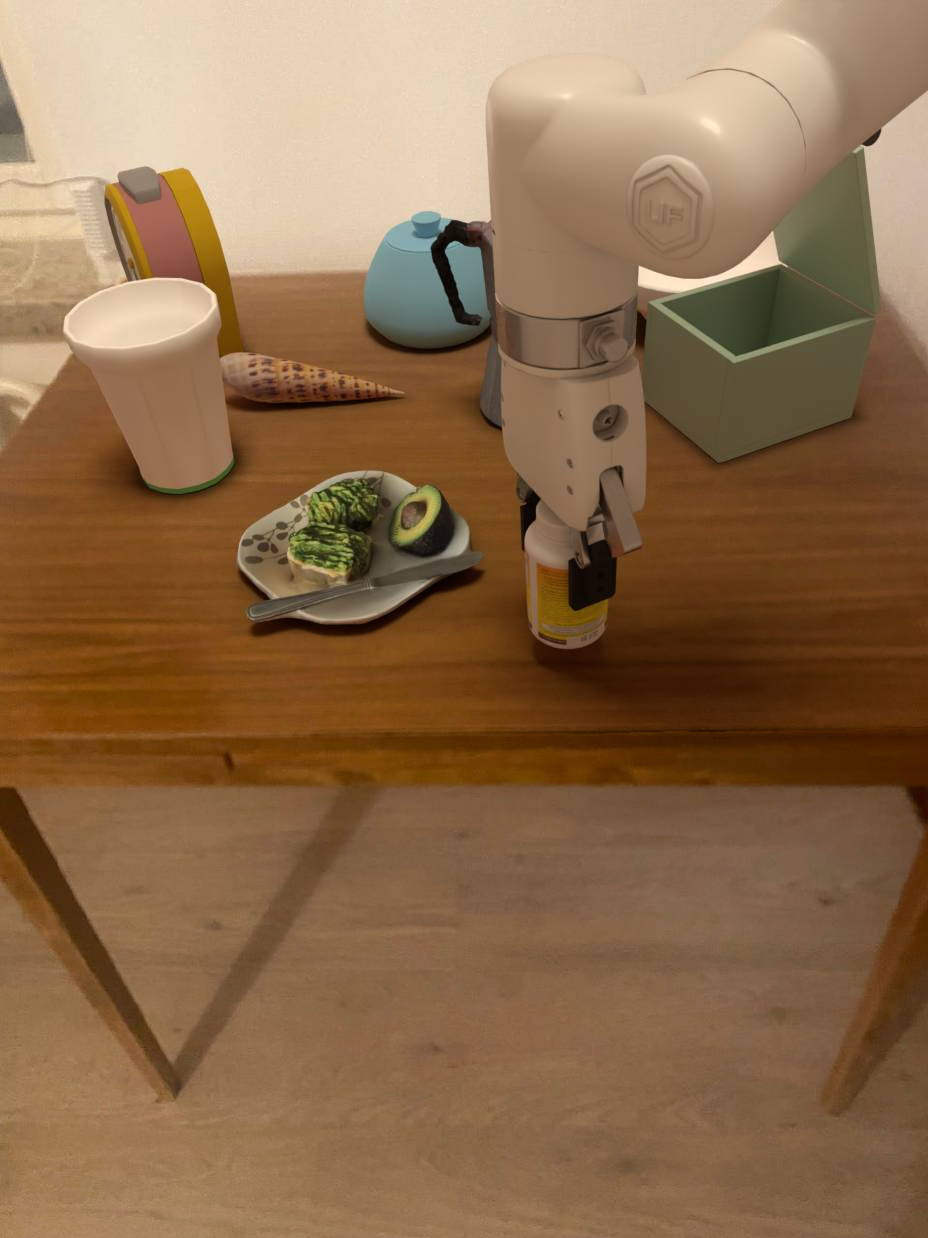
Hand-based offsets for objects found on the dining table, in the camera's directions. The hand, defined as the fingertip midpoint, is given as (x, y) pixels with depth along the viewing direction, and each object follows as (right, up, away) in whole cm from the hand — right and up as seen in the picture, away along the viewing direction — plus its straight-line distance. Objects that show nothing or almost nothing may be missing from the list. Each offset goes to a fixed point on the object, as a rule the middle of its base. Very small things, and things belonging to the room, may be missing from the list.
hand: (567, 571), depth 64 cm
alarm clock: (-36, +27, +41) cm, 61 cm away
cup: (-32, +11, +24) cm, 42 cm away
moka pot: (-1, +17, +28) cm, 33 cm away
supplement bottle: (0, -4, +3) cm, 5 cm away
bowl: (+17, +30, +40) cm, 53 cm away
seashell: (-22, +18, +32) cm, 42 cm away
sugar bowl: (-10, +30, +42) cm, 52 cm away
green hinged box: (+19, +17, +26) cm, 37 cm away
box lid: (+22, +30, +15) cm, 40 cm away
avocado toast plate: (-15, +2, +14) cm, 21 cm away
